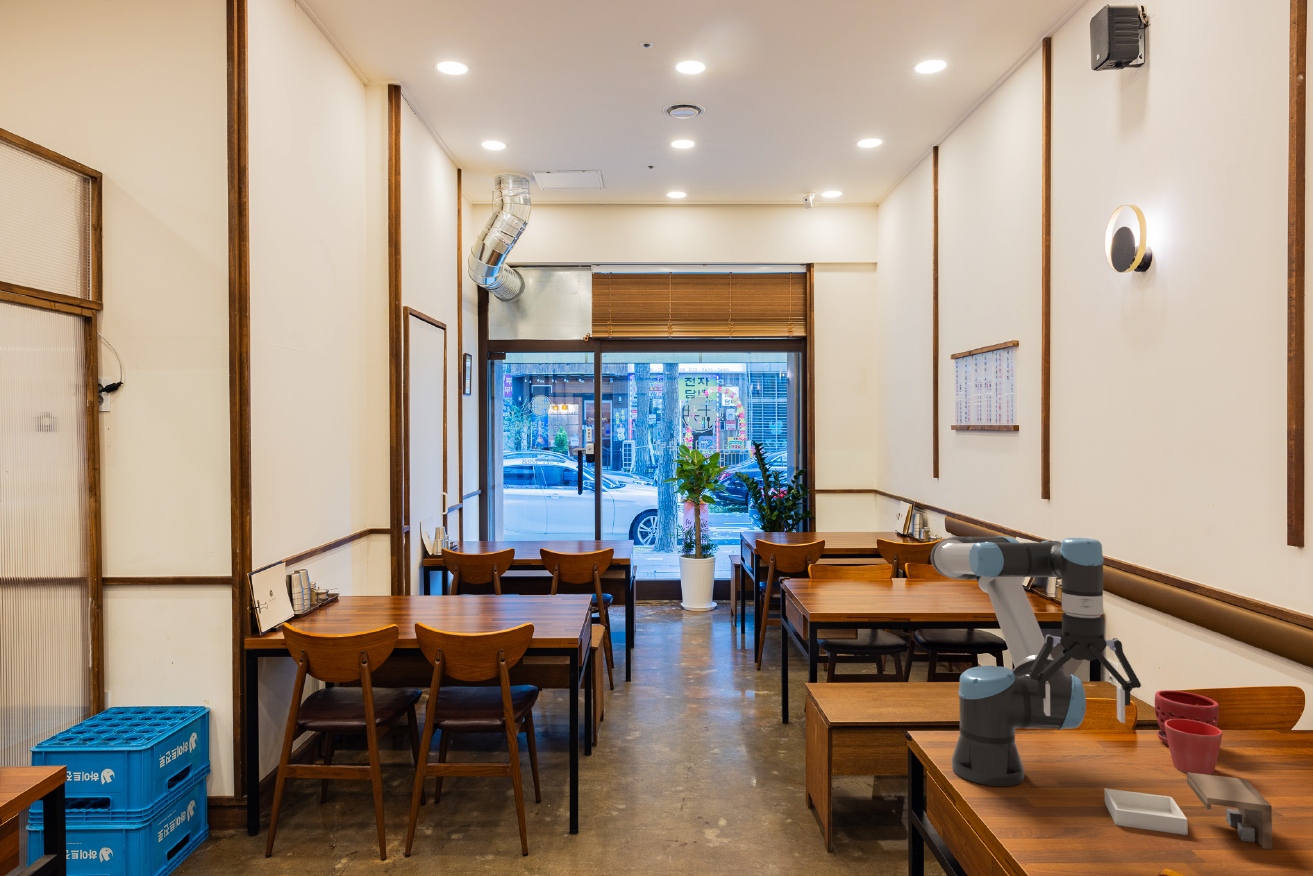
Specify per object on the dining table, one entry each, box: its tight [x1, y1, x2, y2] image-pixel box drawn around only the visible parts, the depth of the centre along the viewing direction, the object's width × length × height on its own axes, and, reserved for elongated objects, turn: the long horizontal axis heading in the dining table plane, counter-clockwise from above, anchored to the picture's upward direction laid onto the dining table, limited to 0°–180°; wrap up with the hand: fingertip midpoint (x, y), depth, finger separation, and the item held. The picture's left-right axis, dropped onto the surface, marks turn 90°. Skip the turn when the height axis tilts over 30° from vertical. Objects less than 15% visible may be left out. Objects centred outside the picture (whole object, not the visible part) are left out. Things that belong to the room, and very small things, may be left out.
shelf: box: [1186, 772, 1273, 850], centre depth 147 cm, size 10×12×8 cm
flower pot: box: [1165, 719, 1223, 775], centre depth 175 cm, size 11×11×10 cm
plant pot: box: [1154, 689, 1220, 746], centre depth 189 cm, size 13×13×12 cm
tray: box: [1104, 787, 1189, 836], centre depth 152 cm, size 12×10×3 cm
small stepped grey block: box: [1225, 808, 1256, 843], centre depth 147 cm, size 2×8×2 cm, turn 160°
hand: (1083, 717), depth 156 cm, fingers open, 13 cm apart
